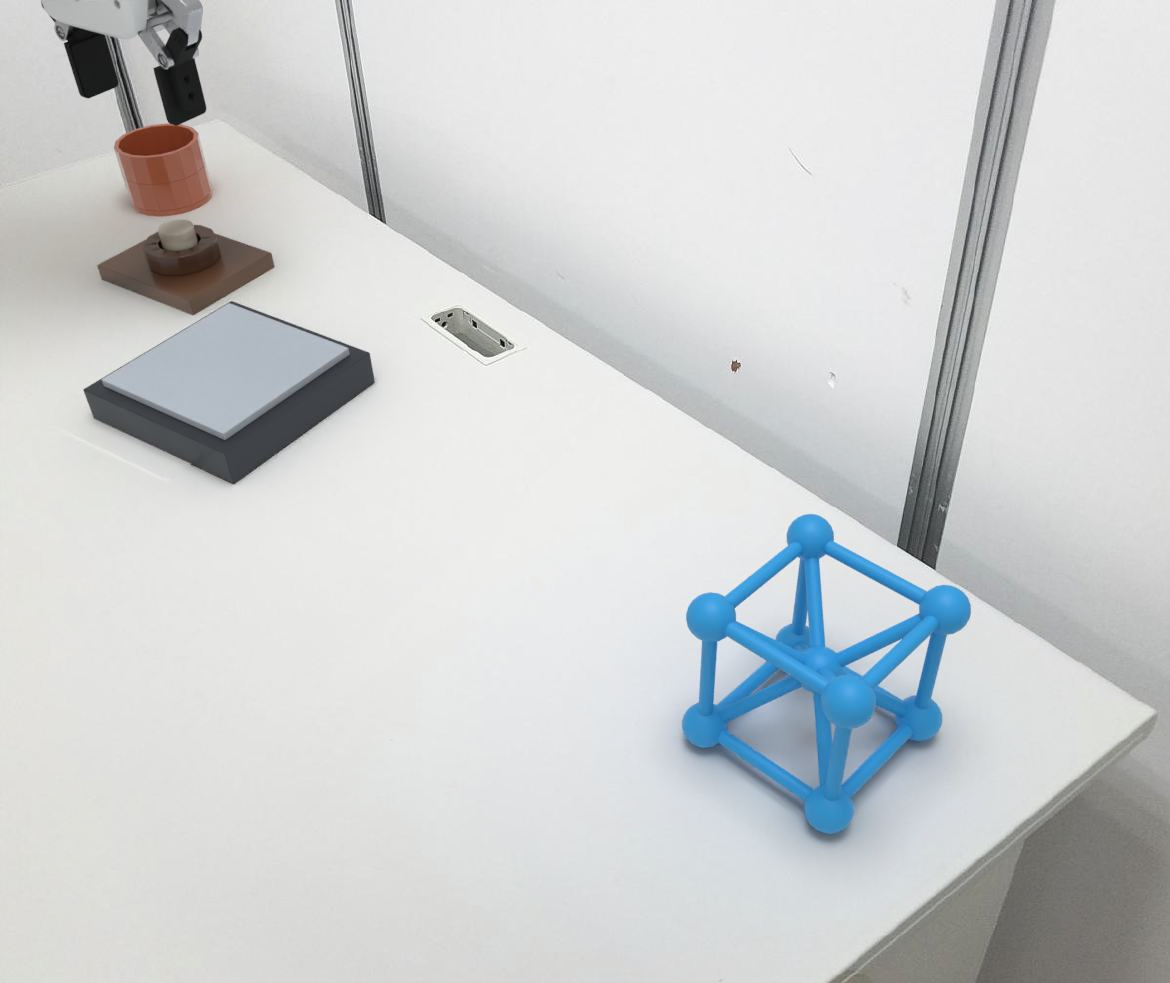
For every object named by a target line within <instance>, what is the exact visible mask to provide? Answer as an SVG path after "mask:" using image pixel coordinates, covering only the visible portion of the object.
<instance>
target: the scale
mask: <svg viewBox="0 0 1170 983" xmlns="http://www.w3.org/2000/svg"><path fill="white" fill-rule="evenodd" d="M375 381H376V380H375V375H374V370H373V364H372V358H371V353H370V352H368V351H366V350H363V349H361V348H358V347H355V346H353V345H351V344H347V343H345V342H343V341H340V340H337V339H335V338H331V337H329V336H326V335H323V334H321V333H318V332H316V331H313V330H310V329H307V328H305V327H303V326H299V325H297V324H294V323H292V322H289V321H286V320H284V319H281V318H278V317H275V316H273V315H270V314H268V313H265V312H262V311H259V310H257V309H254V308H251V307H249V306H247V305H244V304H241V303H238V302H235V301H233V300H231V301H228V302H227V303H225V304H224V305H222V306H220V307H219V308H217V309H215V310H213V311H212V312H210V313H209V314H207V315H205V316H204V317H202V318H200V319H199V320H197V321H195V322H193V323H192V324H190V325H189V326H187V327H185V328H183V329H182V330H180V331H178V332H177V333H175V334H174V335H172V336H170V337H168V338H167V339H165V340H164V341H162V342H160V343H159V344H157V345H155V346H153V347H152V348H150V349H148V350H147V351H145V352H143V353H142V354H140V355H138V356H137V357H134V358H132V359H131V360H130V361H128V362H126V363H125V364H123V365H121V366H120V367H118V368H117V369H115V370H113V371H112V372H110V373H108V374H107V375H105V376H103V377H102V378H100V379H98V380H96V381H95V382H93V383H91V384H90V385H88V386H86V387H84V388H83V389H82V390H83V393H84V396H85V398H86V402H87V404H88V407H89V409H90V411H91V414H92V417H93V419H94V420H96V421H98V422H100V423H103V424H104V425H107V426H109V427H111V428H114V429H116V430H117V431H120V432H122V433H124V434H127V435H128V436H130V437H133V438H134V439H137V440H139V441H142V442H143V443H146V444H148V445H150V446H152V447H154V448H155V449H159V450H160V451H163V452H165V453H167V454H169V455H172V456H174V457H176V458H177V459H180V460H183V461H184V462H186V463H188V464H191V465H192V466H194V467H197V468H199V469H201V470H203V471H204V472H208V473H209V474H211V475H214V476H215V477H218V478H220V479H222V480H223V481H227V482H229V483H230V484H236V483H237V482H238V481H240V480H241V479H243V478H244V477H246V475H248V474H249V473H251V472H252V471H254V470H255V469H256V468H258V467H259V466H261V465H262V464H263V463H265V462H266V461H268V460H269V459H270V458H272V457H274V455H276V454H277V453H278V452H280V451H281V450H283V449H284V448H285V447H287V446H288V445H290V444H291V443H293V442H294V441H295V440H297V439H298V438H299V437H300V436H302V435H303V434H305V433H306V432H308V431H309V430H310V429H313V427H315V426H316V425H318V424H319V423H320V422H322V421H323V420H324V419H326V418H327V417H329V416H330V415H331V414H333V413H335V411H337V410H339V409H340V408H341V407H342V406H344V405H345V404H346V403H348V402H349V401H350V400H352V399H354V398H355V397H357V395H359V394H360V393H362V392H364V391H365V390H366V389H368V387H370V386H372V384H374V383H375Z"/></svg>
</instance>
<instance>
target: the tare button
mask: <svg viewBox="0 0 1170 983" xmlns="http://www.w3.org/2000/svg"><path fill="white" fill-rule="evenodd" d="M194 225H195V224H194V223H193V222H192V221H190V220H188V219H173V220H169V221H166V222H163V223H162V224H161V225H159V227H158V228H157V232H158V233H159V236H160V240H161V243H162V247H163V249H164V250H166V251H180V250H185V249H189V248H191V247H193V246H195V245H197V243H198V240H197V236H196V233H195V229H194Z"/></svg>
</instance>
